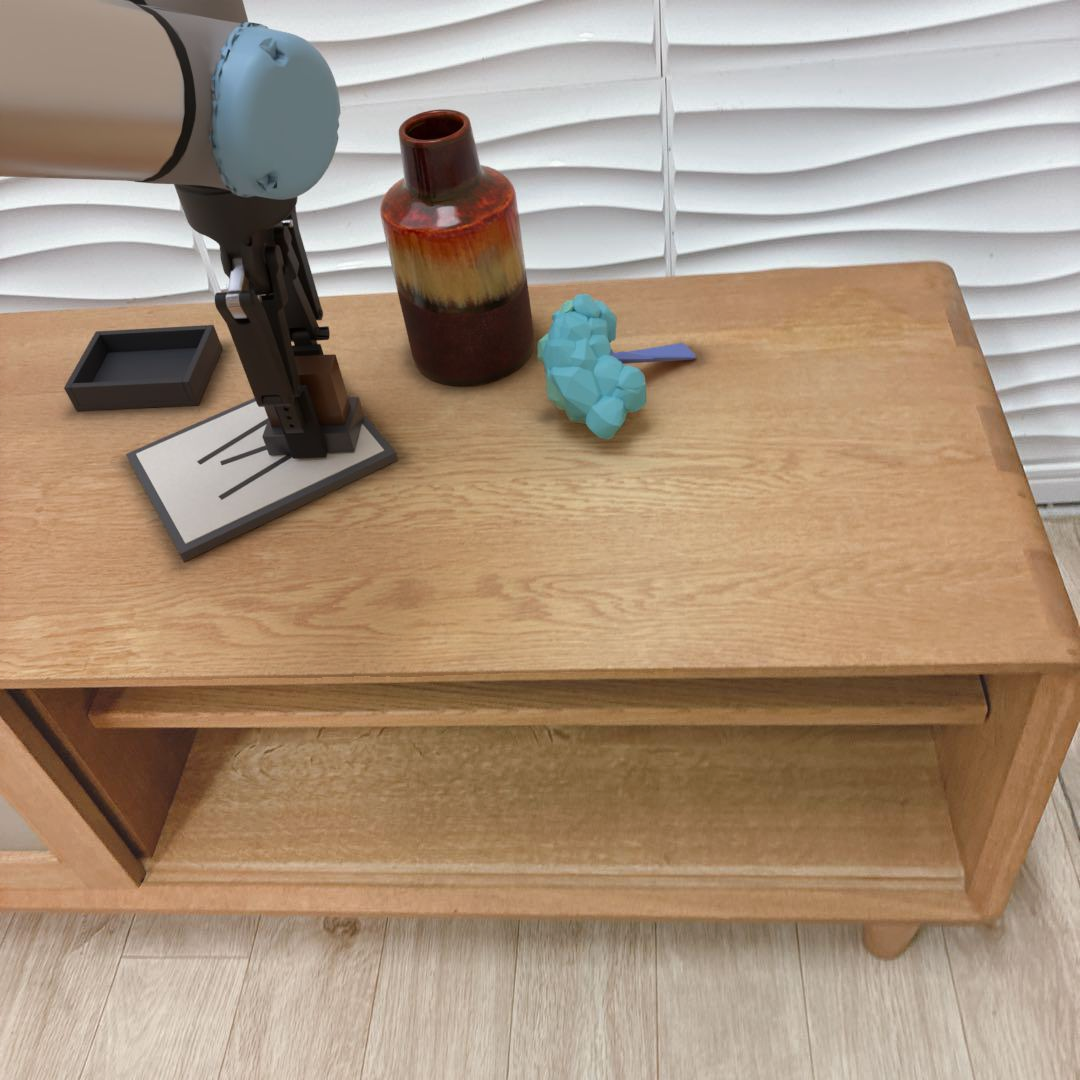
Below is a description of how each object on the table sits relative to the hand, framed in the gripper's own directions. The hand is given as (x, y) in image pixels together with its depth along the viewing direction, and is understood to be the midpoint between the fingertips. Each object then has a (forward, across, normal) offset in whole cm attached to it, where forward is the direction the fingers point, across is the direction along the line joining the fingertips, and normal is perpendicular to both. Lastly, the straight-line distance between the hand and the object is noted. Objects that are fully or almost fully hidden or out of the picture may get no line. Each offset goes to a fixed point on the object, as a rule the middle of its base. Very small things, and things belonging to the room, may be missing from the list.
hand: (316, 432), depth 87 cm
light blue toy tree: (+2, +4, -24) cm, 24 cm away
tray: (+1, +10, +18) cm, 20 cm away
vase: (+1, +12, -11) cm, 17 cm away
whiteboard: (+1, -2, +5) cm, 5 cm away
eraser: (0, 0, 0) cm, 0 cm away
